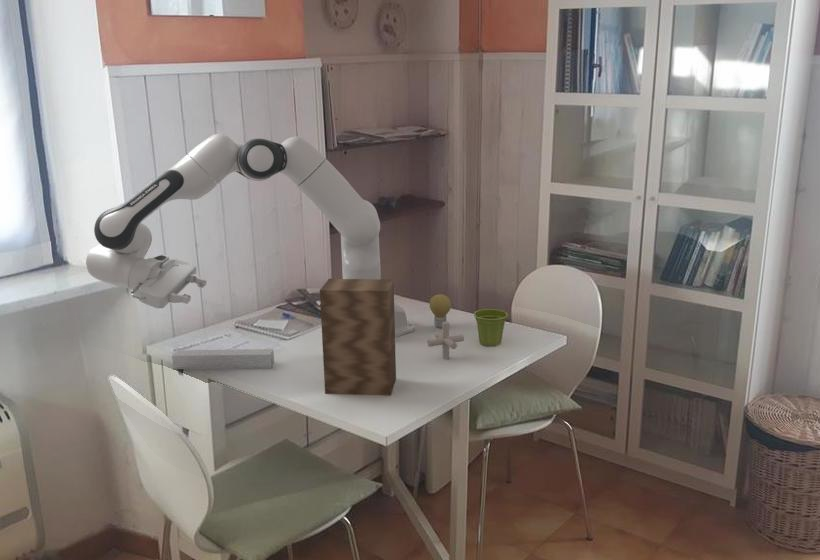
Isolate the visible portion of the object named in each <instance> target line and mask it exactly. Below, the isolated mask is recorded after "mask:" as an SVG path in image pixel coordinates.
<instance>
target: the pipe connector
mask: <svg viewBox="0 0 820 560" xmlns="http://www.w3.org/2000/svg"><path fill="white" fill-rule="evenodd" d="M441 331H442V332H440V331H435V333H434V337H435V338H434V339H433V338H432V339H428V340H427V346H428V347H429V348H430V347H436V346H442V359H443V360H449V359H450V349H452V350H455V349H457V347H458V345H457V344H458V342H464V340H465V337H464V335H463V334H457V335H451V336H450V322H448V321H447V322H442V328H441Z"/></svg>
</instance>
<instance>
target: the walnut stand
mask: <svg viewBox="0 0 820 560" xmlns="http://www.w3.org/2000/svg"><path fill="white" fill-rule="evenodd" d="M394 282H395V281H394V279H387V278H386V279H385V278H384V279H382V278H381V279H343V278H328V279H327V280H326V282H325V283H324V284H323V286H322V287H321V288H320V289H319V300H320V301H319V302H320V319H321V320H320V322H321V323H320V324H321V338H322V344H321V345H322V357H323V358H322V361H323V378H324V379H323V382H324V394H328V395H329V394H331V395H333V394H334V395H363V396H364V395H367V396H391V395H392V393H393V389H394V386H395V384H396V381H397V372H396V371H397V367H396V366H397V365H396V359H397V358H396V337H395V316H394V303H395V283H394Z"/></svg>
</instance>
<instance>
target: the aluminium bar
mask: <svg viewBox="0 0 820 560" xmlns="http://www.w3.org/2000/svg"><path fill="white" fill-rule="evenodd" d="M274 353H275V351H274V348H259V349H257V348H256V349H255V348H254V349H253V348H250V349H249V348H247V349H245V348H244V349H241V348H240V349H180V350H178V349H177V350H175V351H174V352H173V353H172V355H171V360H172V361H171V362H172V369H173V370H211V369H212V370H213V369H214V370H215V369H216V370H217V369H218V370H219V369H221V370H222V369H223V370H224V369H226V370H227V369H228V368H231V369H272V367H274V364H275V355H274Z"/></svg>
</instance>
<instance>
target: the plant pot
mask: <svg viewBox="0 0 820 560" xmlns="http://www.w3.org/2000/svg"><path fill="white" fill-rule="evenodd" d="M473 316H474V317H475V321H476V325H477V333H478V342H479V344H480V345H482V346H485V347H490V346H492V347H497V346H499V345H501V343H502V340H503V333H504V328H505V322H506V320H507V317H508V316H509V313H507V312H506V311H504V310H502V309H494V308H492V309H491V308H484V309H483V308H482V309H479V310H476V311H474V312H473Z"/></svg>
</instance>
